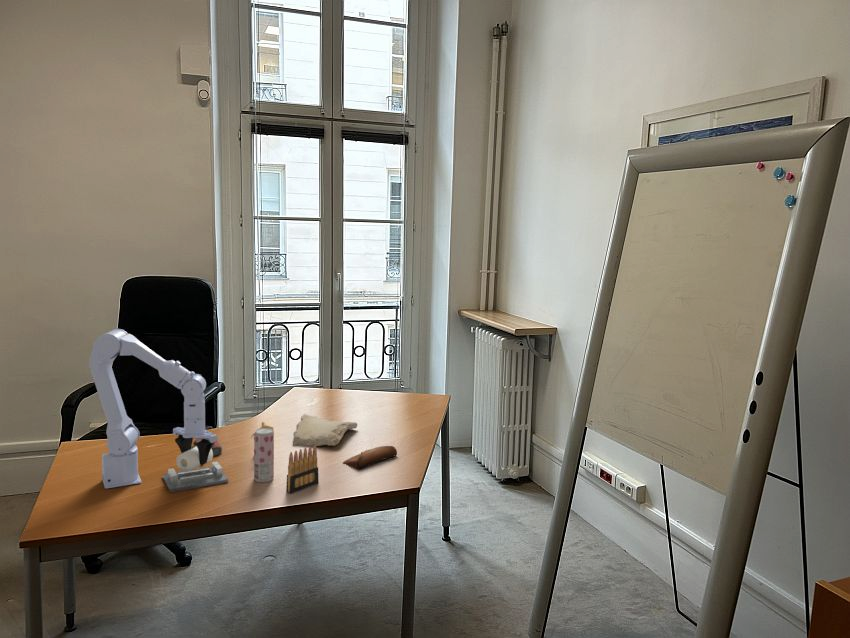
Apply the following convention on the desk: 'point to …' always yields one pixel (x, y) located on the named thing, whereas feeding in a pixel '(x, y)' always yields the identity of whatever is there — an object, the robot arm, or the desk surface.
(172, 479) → the roll cradle
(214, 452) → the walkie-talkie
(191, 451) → the paper roll
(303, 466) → the ammunition clip
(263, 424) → the figurine
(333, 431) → the flat sandstone slab
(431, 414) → the desk surface
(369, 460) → the sunglasses case
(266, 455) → the beverage can
